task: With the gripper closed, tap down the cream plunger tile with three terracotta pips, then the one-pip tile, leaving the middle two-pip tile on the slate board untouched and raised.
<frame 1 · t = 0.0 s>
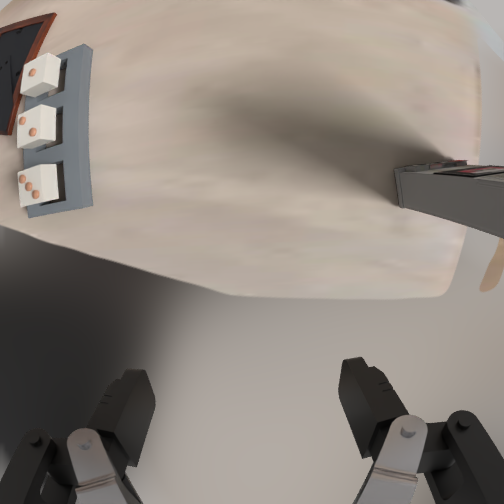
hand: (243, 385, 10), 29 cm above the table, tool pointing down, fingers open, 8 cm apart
tile one: (40, 75, 25), point 6 cm above the table, slide at 0.0 cm
board: (59, 130, 33), on the table
tile three: (38, 185, 29), point 6 cm above the table, slide at 0.0 cm
picture frame: (5, 75, 29), on the table
tile two: (36, 127, 27), point 6 cm above the table, slide at 0.0 cm
cassette tape recorder: (428, 181, 37), on the table
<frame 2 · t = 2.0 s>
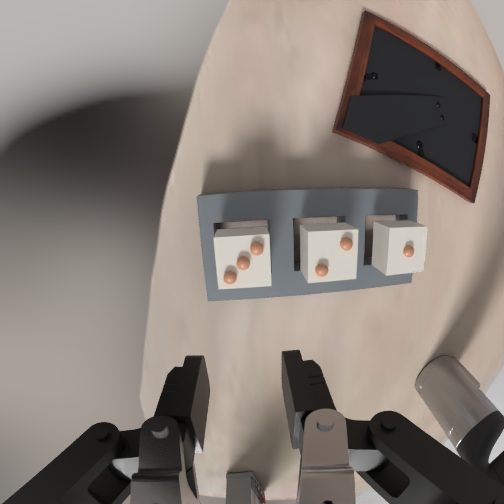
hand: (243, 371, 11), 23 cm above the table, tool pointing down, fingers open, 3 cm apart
tile one: (398, 246, 28), point 6 cm above the table, slide at 0.0 cm
board: (313, 237, 34), on the table
tile three: (243, 256, 28), point 6 cm above the table, slide at 0.0 cm
picture frame: (424, 107, 30), on the table
tile two: (327, 251, 28), point 6 cm above the table, slide at 0.0 cm
cassette tape recorder: (247, 482, 49), on the table
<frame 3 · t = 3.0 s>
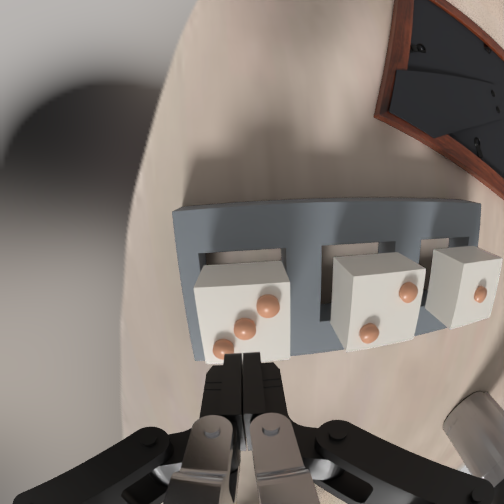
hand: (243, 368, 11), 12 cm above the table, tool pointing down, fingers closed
tile one: (464, 284, 17), point 6 cm above the table, slide at 0.0 cm
board: (346, 269, 23), on the table
tile three: (244, 311, 17), point 6 cm above the table, slide at 0.0 cm
picture frame: (476, 95, 19), on the table
tile two: (375, 298, 17), point 6 cm above the table, slide at 0.0 cm
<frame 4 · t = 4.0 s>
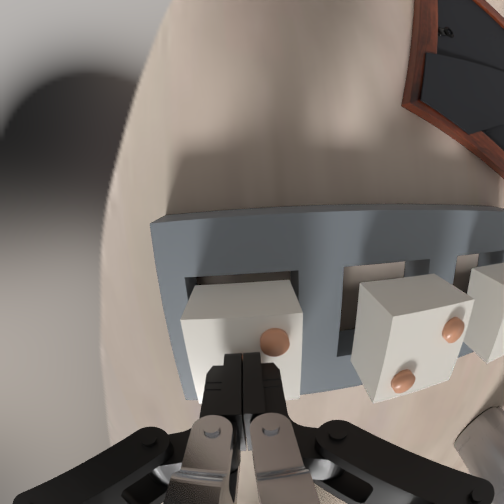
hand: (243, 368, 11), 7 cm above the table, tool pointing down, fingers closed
tile one: (501, 308, 13), point 6 cm above the table, slide at 0.0 cm
board: (367, 290, 18), on the table
tile three: (245, 342, 14), point 5 cm above the table, slide at 1.3 cm, touching gripper
tile two: (409, 334, 12), point 6 cm above the table, slide at 0.0 cm
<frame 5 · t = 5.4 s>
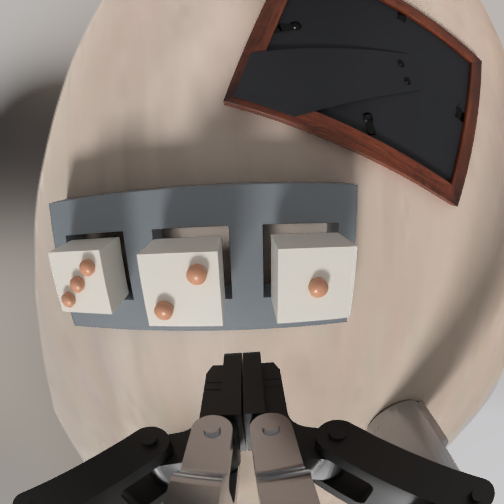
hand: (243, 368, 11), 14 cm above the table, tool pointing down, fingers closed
tile one: (310, 275, 19), point 6 cm above the table, slide at 0.0 cm
board: (197, 253, 25), on the table
tile three: (89, 274, 20), point 5 cm above the table, slide at 1.5 cm
picture frame: (380, 68, 21), on the table
tile two: (185, 279, 19), point 6 cm above the table, slide at 0.0 cm
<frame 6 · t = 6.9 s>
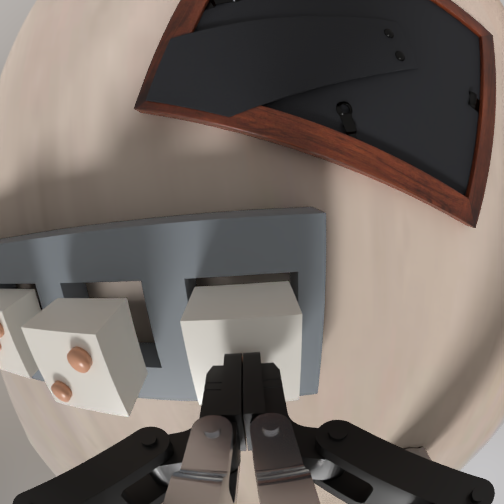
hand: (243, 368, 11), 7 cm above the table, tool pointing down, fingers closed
tile one: (244, 343, 14), point 5 cm above the table, slide at 1.3 cm, touching gripper
board: (125, 306, 18), on the table
tile three: (11, 330, 14), point 5 cm above the table, slide at 1.5 cm
picture frame: (362, 42, 14), on the table
tile two: (87, 353, 12), point 6 cm above the table, slide at 0.0 cm
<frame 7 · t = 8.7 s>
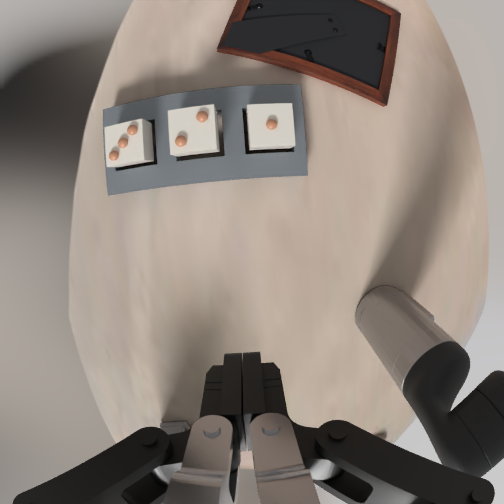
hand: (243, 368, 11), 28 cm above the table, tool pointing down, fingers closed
tile one: (269, 127, 30), point 5 cm above the table, slide at 1.5 cm
board: (202, 137, 35), on the table
tile three: (129, 144, 30), point 5 cm above the table, slide at 1.5 cm
picture frame: (318, 25, 31), on the table
tile two: (194, 131, 29), point 6 cm above the table, slide at 0.0 cm
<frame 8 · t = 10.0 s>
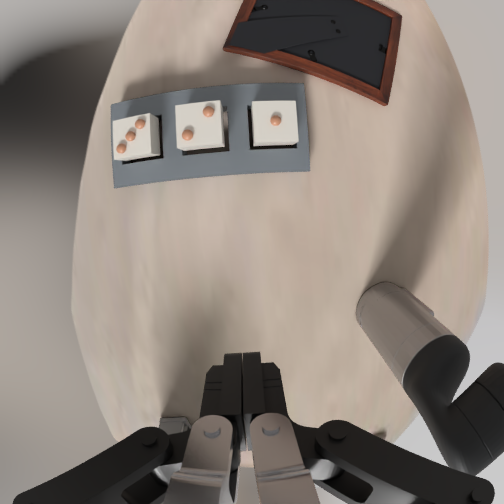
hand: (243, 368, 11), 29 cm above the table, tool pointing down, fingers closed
tile one: (273, 123, 31), point 5 cm above the table, slide at 1.5 cm
board: (207, 133, 35), on the table
tile three: (136, 138, 31), point 5 cm above the table, slide at 1.5 cm
picture frame: (321, 27, 32), on the table
tile two: (200, 126, 30), point 6 cm above the table, slide at 0.0 cm
cassette tape recorder: (185, 434, 51), on the table
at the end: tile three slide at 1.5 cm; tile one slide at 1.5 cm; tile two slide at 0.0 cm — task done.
